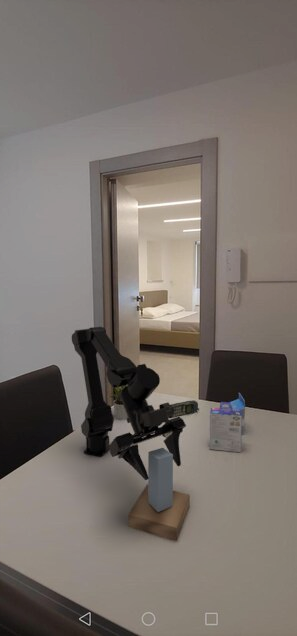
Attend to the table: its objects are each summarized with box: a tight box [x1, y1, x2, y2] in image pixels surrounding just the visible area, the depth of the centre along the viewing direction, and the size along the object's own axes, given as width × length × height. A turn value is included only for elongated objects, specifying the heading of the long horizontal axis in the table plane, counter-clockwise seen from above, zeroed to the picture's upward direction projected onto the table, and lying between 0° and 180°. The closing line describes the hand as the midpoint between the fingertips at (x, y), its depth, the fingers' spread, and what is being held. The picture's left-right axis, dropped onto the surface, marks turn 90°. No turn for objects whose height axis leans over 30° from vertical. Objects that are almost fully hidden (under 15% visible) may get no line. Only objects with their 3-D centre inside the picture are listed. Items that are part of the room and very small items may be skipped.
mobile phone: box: [168, 400, 200, 419], centre depth 129 cm, size 5×3×15 cm
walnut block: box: [128, 483, 191, 542], centre depth 74 cm, size 11×11×4 cm
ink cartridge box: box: [209, 401, 242, 453], centre depth 103 cm, size 10×6×14 cm, turn 78°
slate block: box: [147, 447, 174, 512], centre depth 73 cm, size 4×4×12 cm
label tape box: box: [228, 392, 246, 436], centre depth 115 cm, size 9×4×12 cm, turn 178°
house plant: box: [106, 383, 128, 420], centre depth 126 cm, size 14×14×16 cm
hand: (163, 472), depth 71 cm, fingers open, 9 cm apart
